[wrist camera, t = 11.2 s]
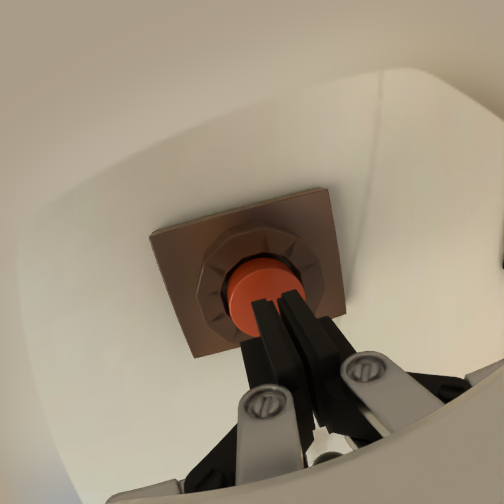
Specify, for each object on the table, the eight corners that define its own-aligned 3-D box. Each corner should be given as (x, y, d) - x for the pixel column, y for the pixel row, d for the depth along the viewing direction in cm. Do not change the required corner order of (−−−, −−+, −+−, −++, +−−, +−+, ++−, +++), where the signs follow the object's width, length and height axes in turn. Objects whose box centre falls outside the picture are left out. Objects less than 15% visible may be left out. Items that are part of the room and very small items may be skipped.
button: (236, 329, 16) (240, 347, 14) (218, 268, 15) (219, 281, 13) (301, 310, 16) (311, 325, 15) (288, 248, 15) (298, 258, 14)
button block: (194, 348, 19) (193, 376, 16) (152, 232, 17) (141, 245, 14) (339, 306, 20) (359, 327, 17) (320, 187, 17) (341, 191, 14)
